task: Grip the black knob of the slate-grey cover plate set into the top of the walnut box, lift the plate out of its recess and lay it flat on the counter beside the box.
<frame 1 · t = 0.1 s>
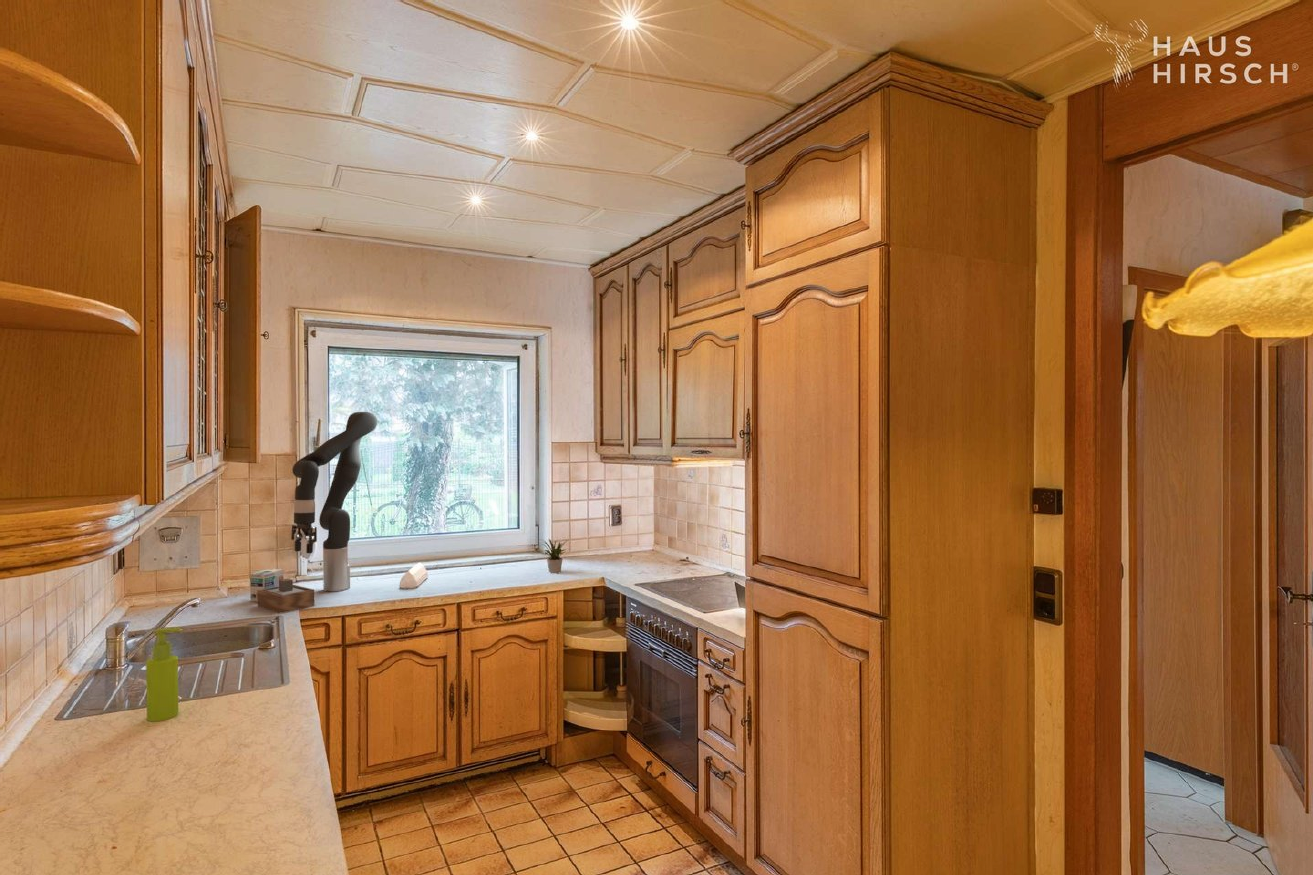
hand: (303, 552, 278), 17 cm above the counter, tool pointing down, fingers open, 8 cm apart
soap dispenser: (165, 716, 161), on the counter
light bulb box: (267, 599, 274), on the counter
cover plate: (285, 592, 262), point 5 cm above the counter, touching walnut box
walnut box: (286, 606, 262), on the counter
house plant: (551, 572, 322), on the counter
pale wooden prism: (414, 583, 302), on the counter
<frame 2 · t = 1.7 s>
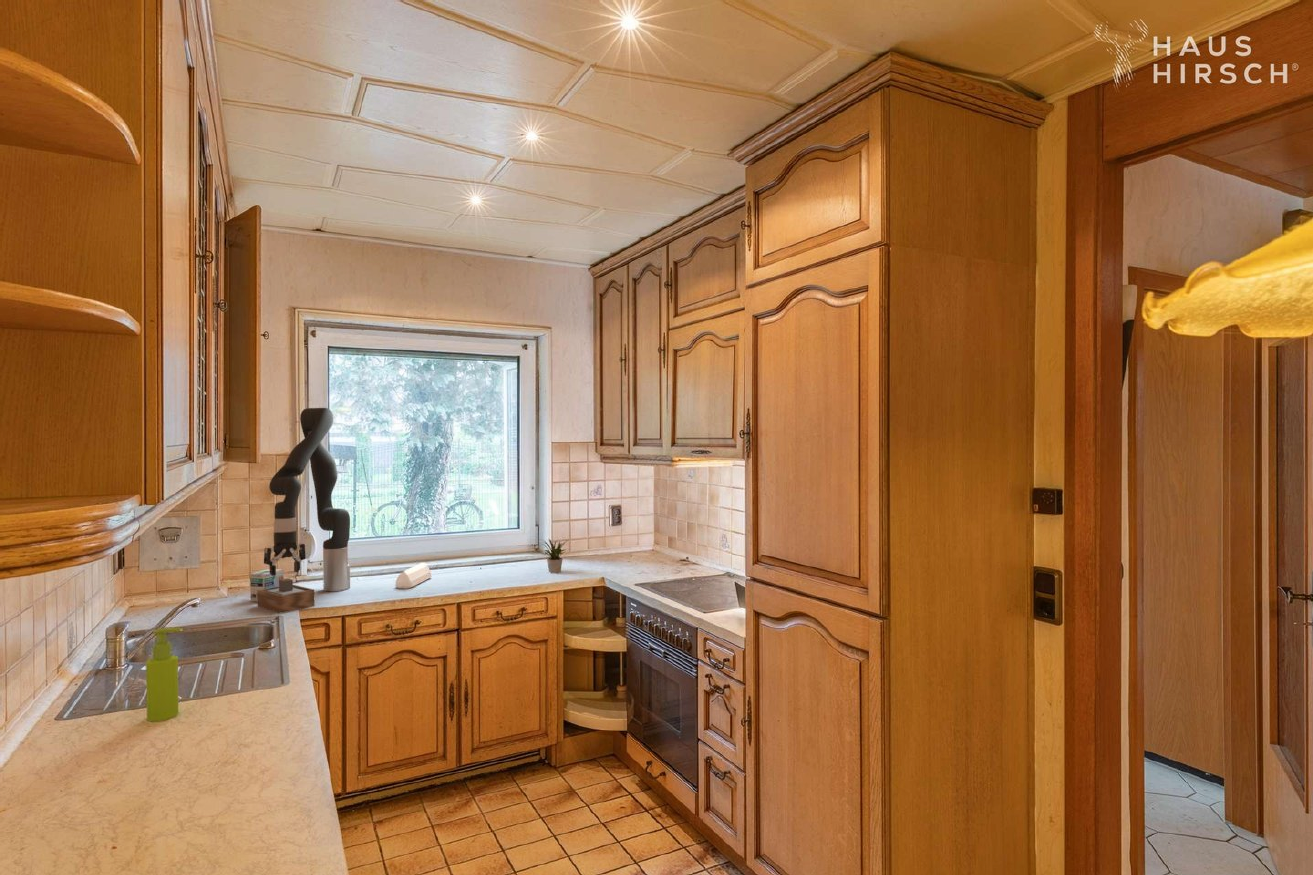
hand: (285, 573, 262), 12 cm above the counter, tool pointing down, fingers open, 8 cm apart
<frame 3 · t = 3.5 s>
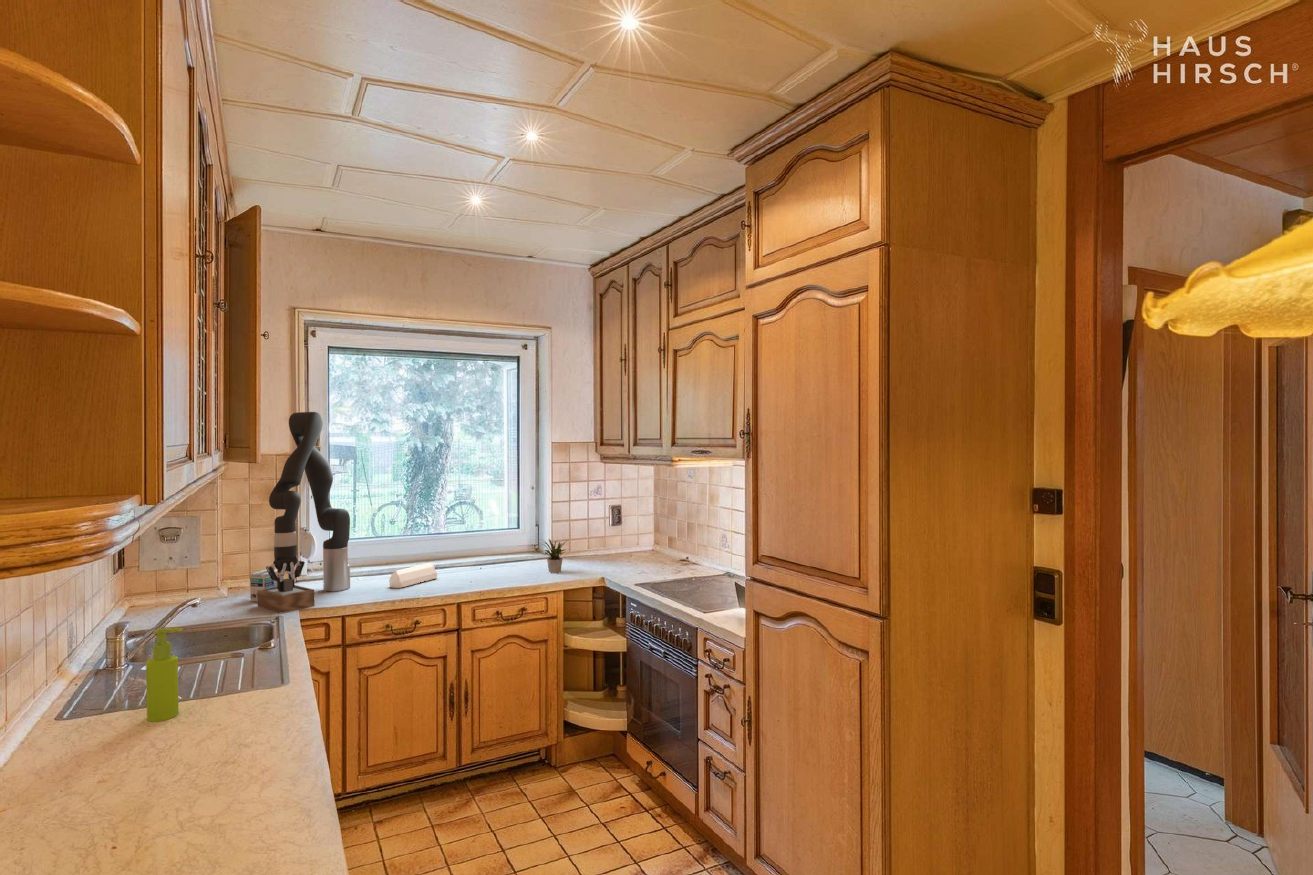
hand: (285, 590, 262), 6 cm above the counter, tool pointing down, fingers closed on cover plate, 3 cm apart
cover plate: (286, 592, 262), point 5 cm above the counter, touching gripper
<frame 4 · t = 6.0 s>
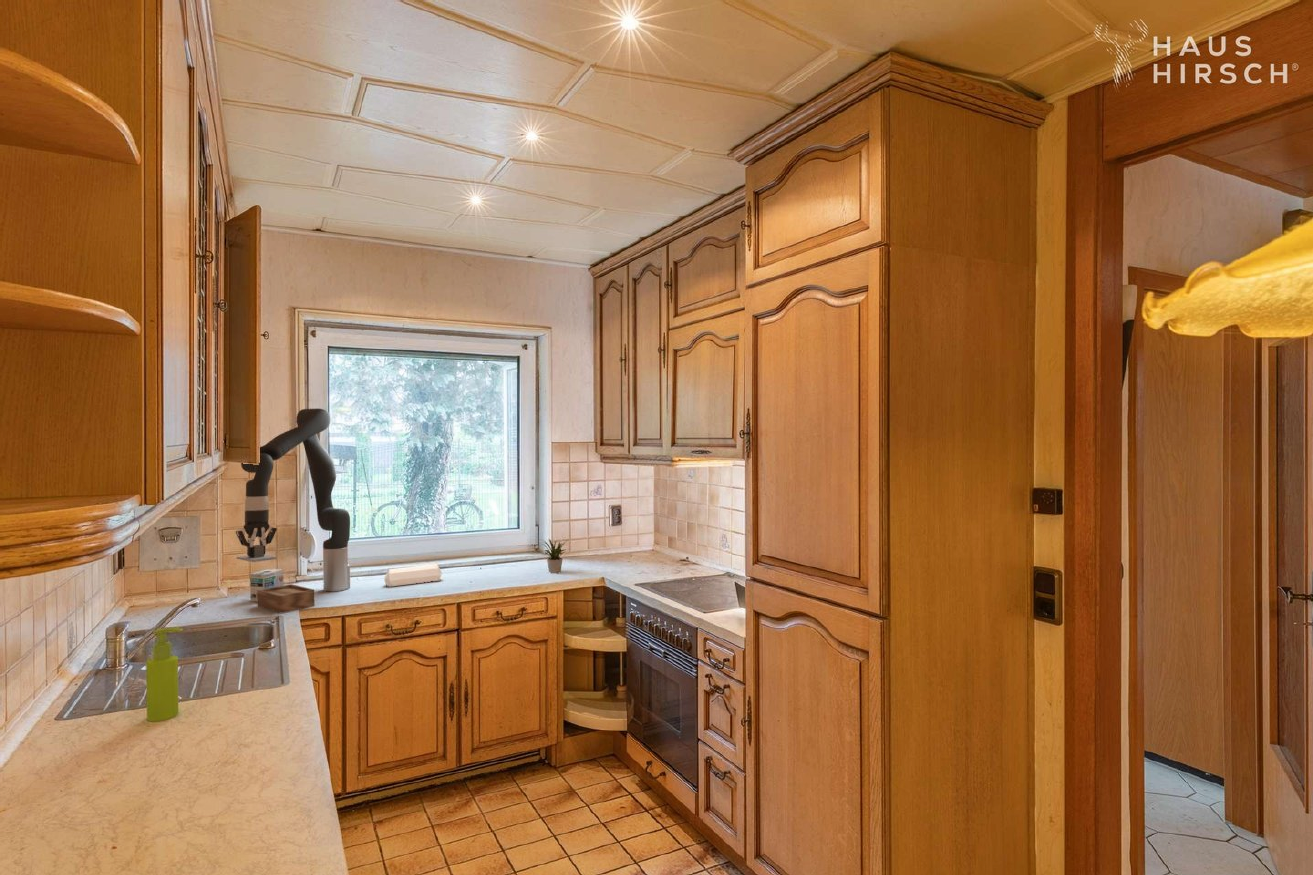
hand: (256, 556, 253), 20 cm above the counter, tool pointing down, fingers closed on cover plate, 3 cm apart
cover plate: (256, 559, 253), point 19 cm above the counter, touching gripper
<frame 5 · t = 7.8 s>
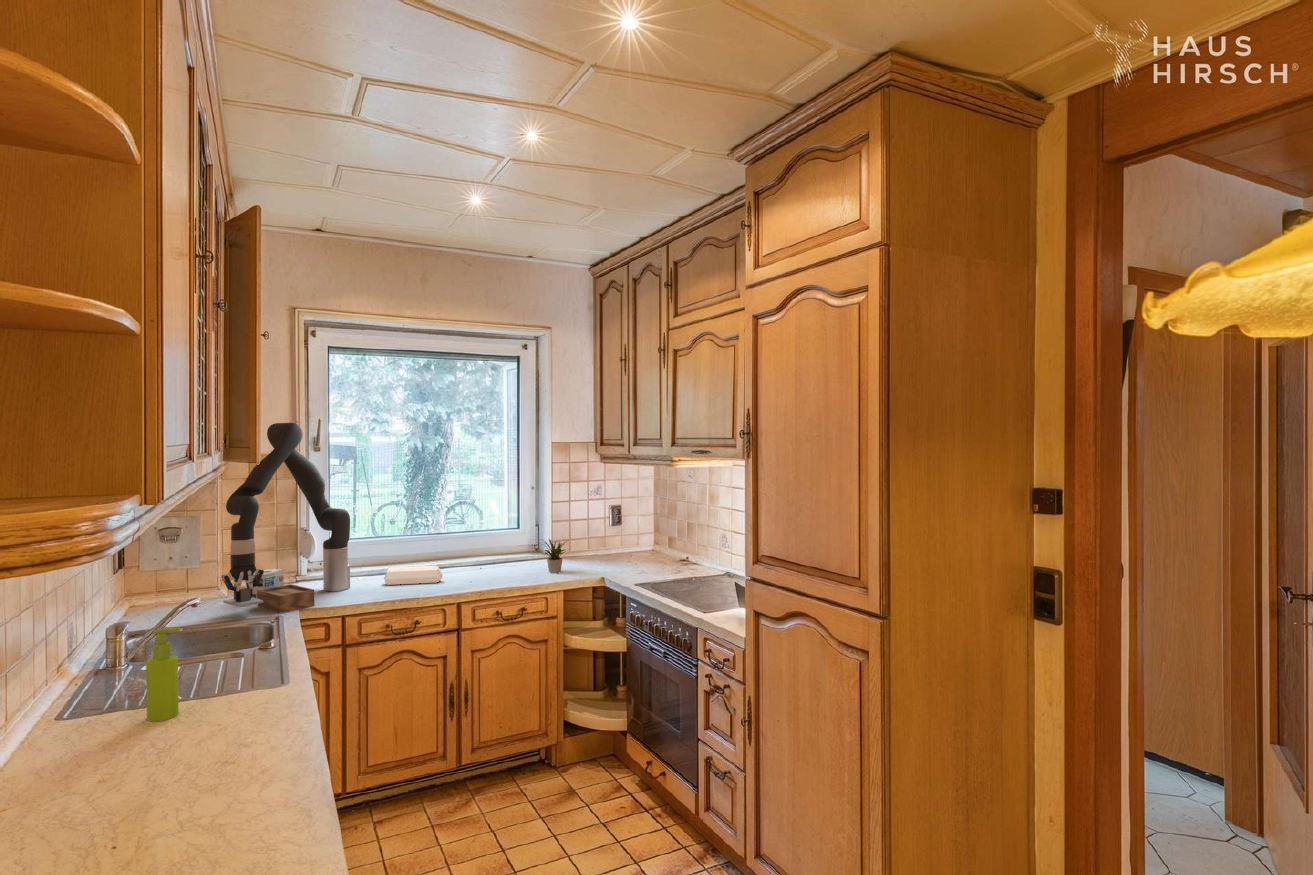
hand: (243, 600, 250), 5 cm above the counter, tool pointing down, fingers closed on cover plate, 3 cm apart
cover plate: (243, 602, 250), point 4 cm above the counter, touching gripper
when the fingers open (2 cm above the counter, at t = 9.0 s): cover plate drops 2 cm, on the counter.
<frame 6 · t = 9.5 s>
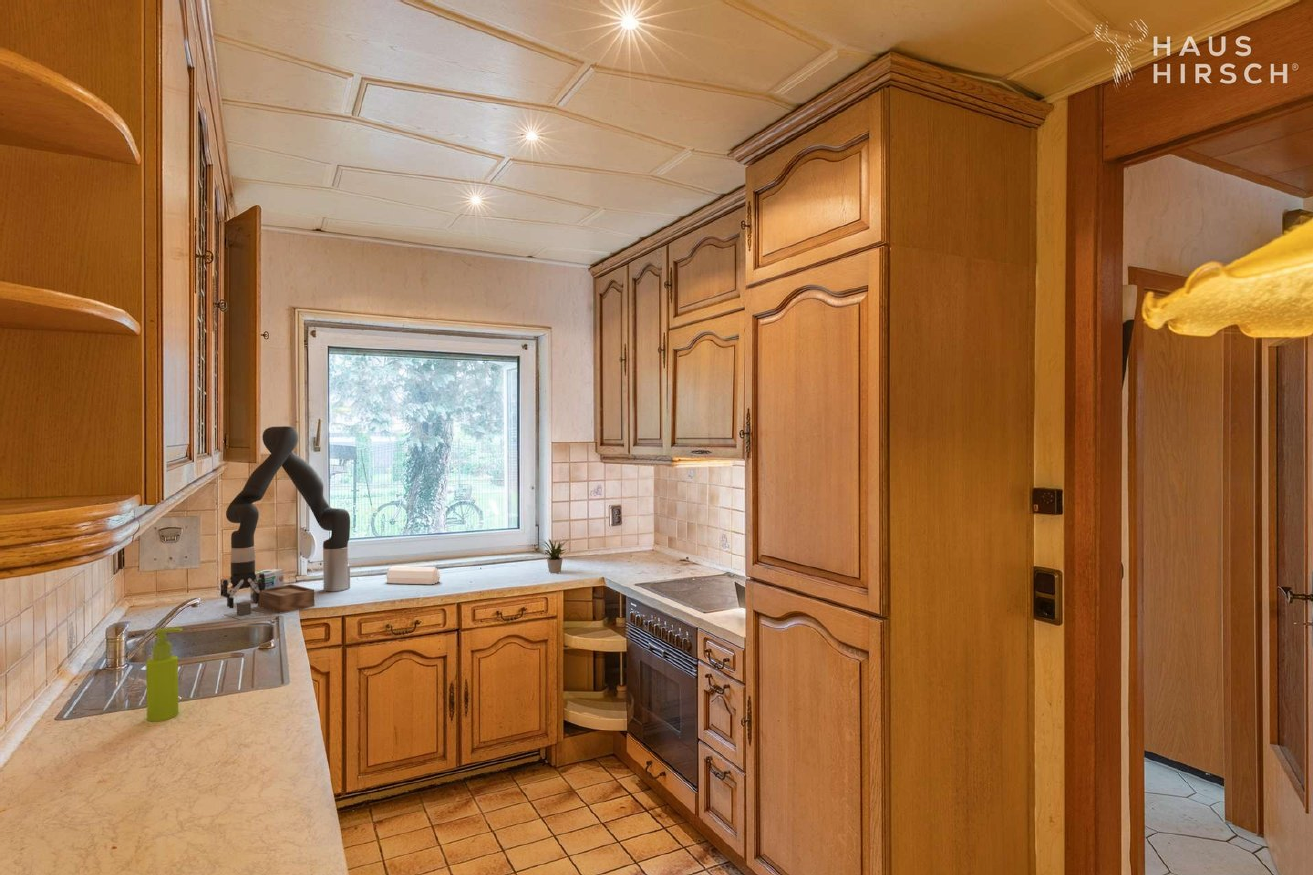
hand: (243, 605, 250), 3 cm above the counter, tool pointing down, fingers open, 7 cm apart
cover plate: (243, 616, 250), on the counter
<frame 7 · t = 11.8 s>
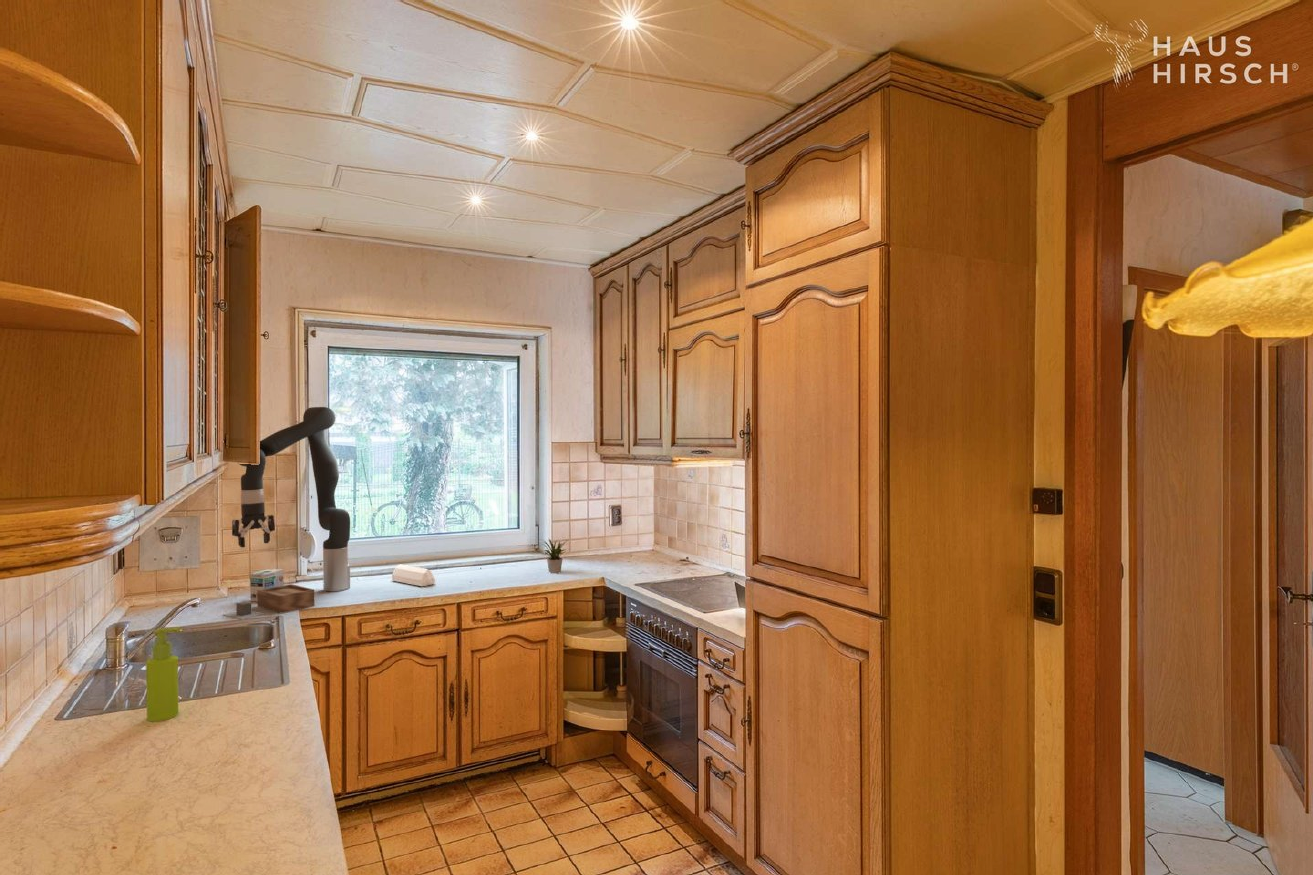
hand: (254, 545, 261), 23 cm above the counter, tool pointing down, fingers open, 8 cm apart
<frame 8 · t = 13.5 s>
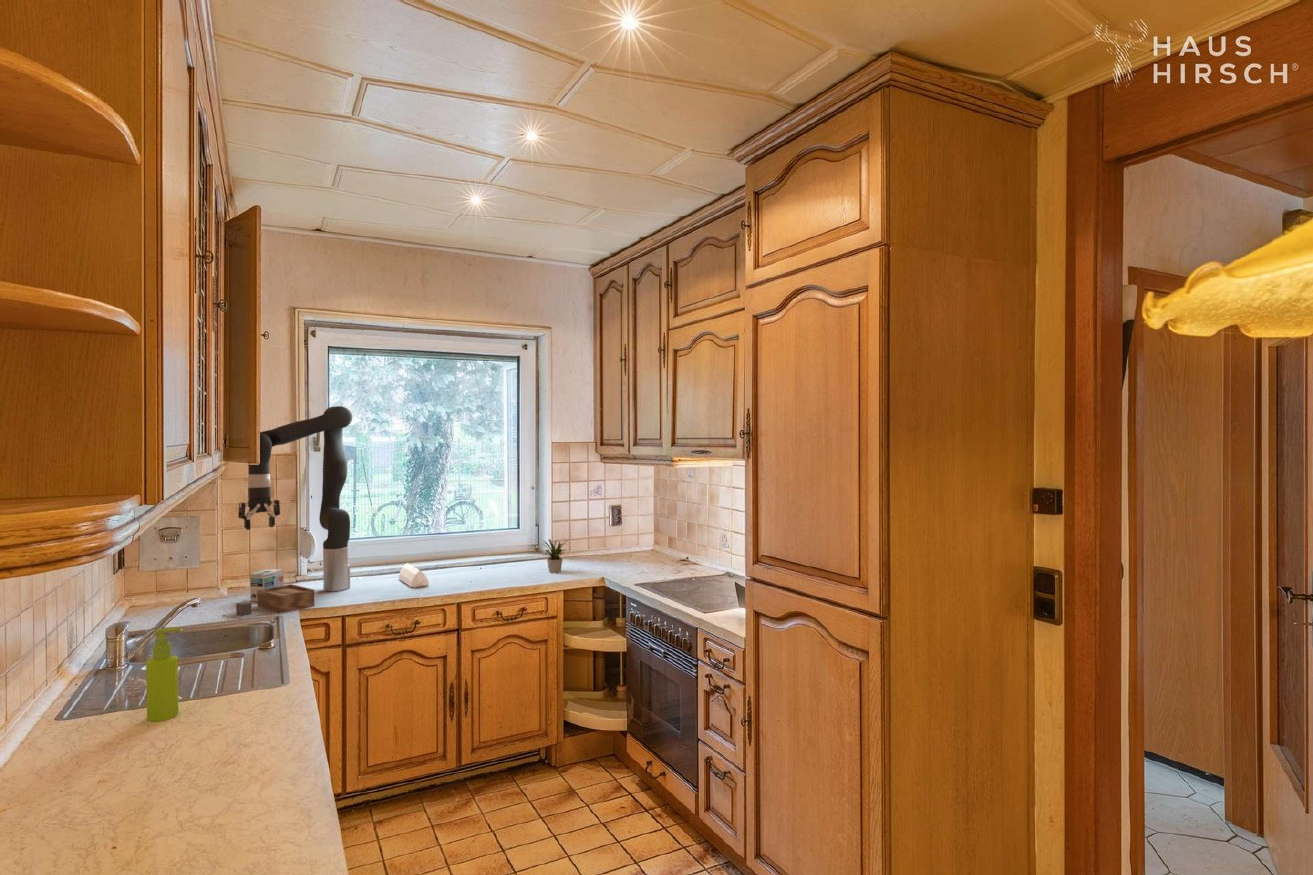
hand: (259, 528, 269), 28 cm above the counter, tool pointing down, fingers open, 8 cm apart
at the end: cover plate inside the target area (0.1 cm from its centre), on the counter; cover plate tilted 0°; the gripper is holding nothing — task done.
